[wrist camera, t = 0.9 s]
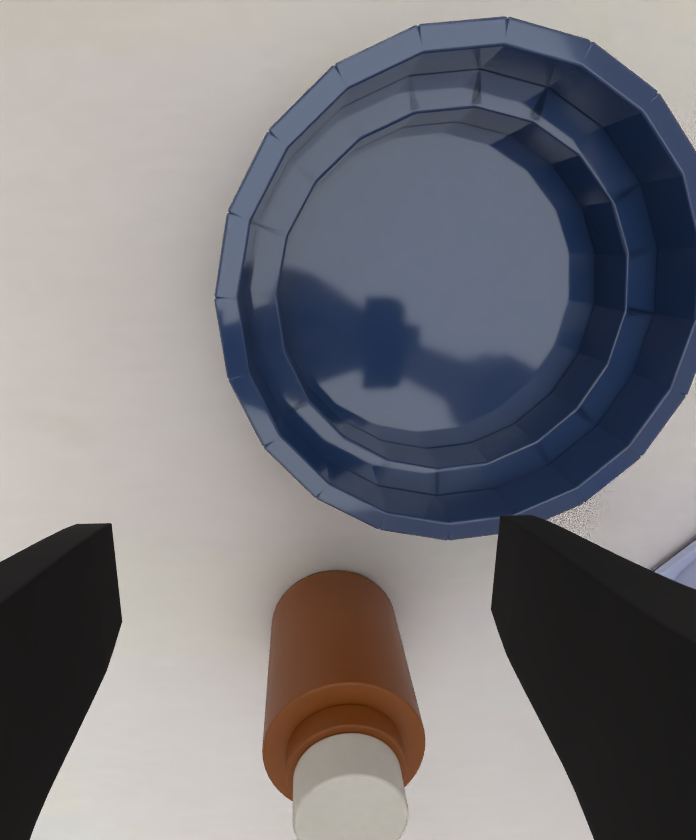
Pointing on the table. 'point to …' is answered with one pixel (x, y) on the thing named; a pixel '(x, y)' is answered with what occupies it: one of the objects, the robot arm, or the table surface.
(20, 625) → the robot arm
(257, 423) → the bowl
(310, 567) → the table surface
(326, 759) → the bottle
